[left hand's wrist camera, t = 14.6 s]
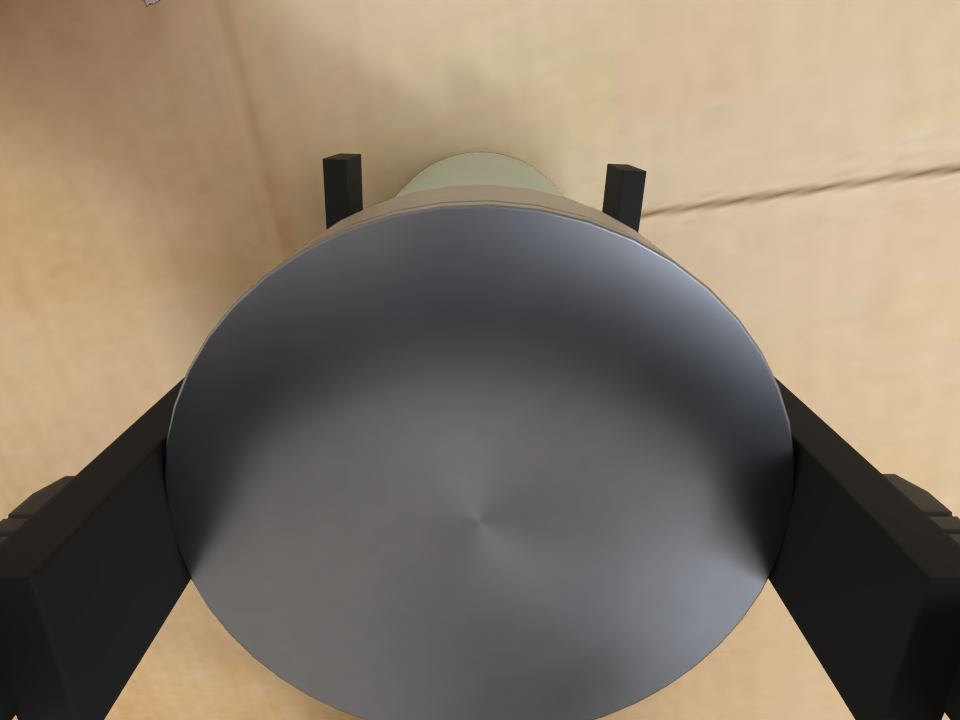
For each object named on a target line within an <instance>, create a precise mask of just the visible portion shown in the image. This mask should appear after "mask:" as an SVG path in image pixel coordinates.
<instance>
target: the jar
mask: <svg viewBox="0 0 960 720" xmlns="http://www.w3.org/2000/svg"><path fill="white" fill-rule="evenodd" d="M465 185H498V186H507V187H517V188H527V189H532V190H536V191H540V192H545V193H549V194H553V195H557V196H561V197H565V196H564V195H563V194H562V193H561V192H560V191H559V190H558V189H557V188H556V187H555V186H554V185H553V184H552V183H551V182H550V181H549V180H548V179H547V178H546V177H545V176H544V175H542V174H541V173H540V172H538V171H537V170H536V169H535V168H533V167H531V166H529V165H528V164H526V163H524V162H522V161H520V160H517V159H515V158H512V157H509V156H505V155H501V154H497V153H488V152H470V153H464V154H458V155H454V156H451V157H448V158H445V159H442V160H440V161H438V162H436V163H434V164H432V165H430V166H429V167H427V168H426V169H424V170H423V171H421V172H420V173H419V174H418V175H417V176H415V177H414V178H413V179H412V180H411V181H410V182H409V183H408V184H407V185H406V186H405V187H404V188H403V189H402V190H401V191H400V192H399V193H398V194H397V195H396V196H395V197H394V198H396V197H399V196H402V195H406V194H409V193H412V192H418V191H424V190H430V189H436V188H441V187H447V186H465ZM565 198H566V197H565Z"/></svg>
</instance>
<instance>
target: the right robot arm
mask: <svg viewBox="0 0 960 720" xmlns="http://www.w3.org/2000/svg"><path fill="white" fill-rule="evenodd" d="M323 172H324V190H325V208H326V226H327V229H329V228H330V227H332V226H333V225H335V224H336V223H338V222H339V221H341V220H343V219H345V218H347V217H349V216H351V215H353V214H355V213H357V212H360V211H362V210H363V203H362V173H361V154H337V155H334V156H331V157H327V158H324V159H323ZM645 178H646V171H644V170H641V169H638V168H636V167H633V166H630V165H624V164H608V165H607V174H606V183H605V192H604V202H603V211H602V212H603V213H605V214H607V215H609V216H610V217H612V218H614V219H616V220H617V221H619V222H621V223H623V224H625V225H626V226H628V227H630V228H632V229H633V230H635V231H636V232H638V231H639V223H640V216H641V208H642V201H643V193H644V185H645Z"/></svg>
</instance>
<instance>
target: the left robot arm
mask: <svg viewBox="0 0 960 720" xmlns="http://www.w3.org/2000/svg"><path fill="white" fill-rule="evenodd" d="M774 378H775V377H774ZM184 379H185V378H183V379H182V380H181V381H180V382H179V383H178V384H177V385H176V386H175V387H173V388H172V389H171V390H170V391H169V392H168V393H167V394H166V395H165V396H164V397H162V398H161V399H160V400H159V401H158V402H157V403H156V404H155V405H154V406H152V407H151V408H150V409H149V410H148V411H147V412H146V413H145V414H144V415H143V416H141V417H140V418H139V419H138V420H137V421H136V422H135V423H134V424H133V425H131V426H130V427H129V428H128V429H127V430H126V431H125V432H124V433H123V434H122V435H120V436H119V437H118V438H117V439H116V440H115V441H114V442H113V443H112V444H110V445H109V446H108V447H107V448H106V449H105V450H104V451H103V452H102V453H101V454H99V455H98V456H97V457H96V458H95V459H94V460H93V461H92V462H91V463H89V464H88V465H87V466H86V467H85V468H84V469H83V470H82V471H81V472H80V473H78V474H77V475H76V476H65V477H63V478H61V479H60V480H58V481H56V482H54V483H52V484H50V485H48V486H46V487H45V488H43V489H41V490H39V491H37V492H35V493H33V494H32V495H31V496H30V497H28V498H27V499H26V500H25V501H24V502H23V503H21V504H20V505H19V506H18V507H17V508H16V509H14V510H13V511H12V512H11V513H10V514H9V515H8V516H9V517H8V519H3V520H2V521H1V522H0V720H12V719H13V718H14V716H15V715H16V716H17V718H18V720H104V719H105V717H106V716H107V714H108V713H109V711H110V709H111V708H112V706H113V704H114V703H115V701H116V700H117V698H118V696H119V695H120V693H121V691H122V690H123V688H124V687H125V685H126V683H127V682H128V680H129V678H130V677H131V675H132V674H133V672H134V670H135V669H136V667H137V665H138V664H139V662H140V661H141V659H142V657H143V656H144V654H145V653H146V651H147V649H148V648H149V646H150V644H151V643H152V641H153V640H154V638H155V636H156V635H157V633H158V631H159V630H160V628H161V627H162V625H163V623H164V622H165V620H166V618H167V617H168V615H169V614H170V612H171V610H172V609H173V607H174V605H175V604H176V602H177V601H178V599H179V597H180V596H181V594H182V592H183V591H184V589H185V588H186V586H187V584H188V583H189V581H190V579H191V578H190V575H189V573H188V571H187V568H186V566H185V564H184V561H183V559H182V557H181V554H180V552H179V550H178V547H177V544H176V539H175V535H174V531H173V526H172V522H171V518H170V514H169V508H168V503H167V496H166V487H165V461H166V441H167V437H168V432H169V427H170V423H171V418H172V413H173V408H174V405H175V402H176V399H177V397H178V394H179V392H180V389H181V386H182V384H183V381H184ZM775 380H776V382H777V384H778V386H779V389H780V392H781V396H782V399H783V402H784V406H785V409H786V412H787V416H788V419H789V422H790V429H791V436H792V444H793V451H794V459H795V464H794V496H793V502H792V506H791V511H790V516H789V520H788V525H787V530H786V534H785V538H784V541H783V544H782V547H781V550H780V553H779V556H778V559H777V561H776V564H775V565H774V567H773V569H772V571H771V573H770V575H769V577H768V578H769V580H770V582H771V583H772V585H773V587H774V588H775V590H776V591H777V593H778V595H779V596H780V598H781V600H782V601H783V603H784V604H785V606H786V608H787V609H788V611H789V613H790V614H791V616H792V617H793V619H794V621H795V622H796V624H797V626H798V627H799V629H800V630H801V632H802V634H803V635H804V637H805V639H806V640H807V642H808V643H809V645H810V647H811V648H812V650H813V651H814V653H815V655H816V656H817V658H818V660H819V661H820V663H821V664H822V666H823V668H824V669H825V671H826V673H827V674H828V676H829V677H830V679H831V681H832V682H833V684H834V686H835V687H836V689H837V690H838V692H839V694H840V695H841V697H842V699H843V700H844V702H845V703H846V705H847V707H848V708H849V710H850V712H851V713H852V715H853V716H854V718H855V720H942V717H943V715H944V712H945V713H946V715H947V716H948V717H949V718H950V720H960V519H959V518H958V517H953V516H952V512H951V511H950V510H949V509H947V508H946V507H945V506H944V505H943V504H941V503H940V502H939V501H938V500H937V499H936V498H934V497H933V496H932V495H931V494H930V493H929V492H927V491H925V490H923V489H922V488H920V487H918V486H916V485H914V484H912V483H910V482H908V481H907V480H905V479H903V478H901V477H899V476H897V475H895V474H881V473H880V472H879V471H878V470H877V469H876V468H875V467H873V466H872V465H871V464H870V463H869V462H868V461H867V460H866V459H865V458H863V457H862V456H861V455H860V454H859V453H858V452H857V451H856V450H855V449H854V448H852V447H851V446H850V445H849V444H848V443H847V442H846V441H845V440H844V439H842V438H841V437H840V436H839V435H838V434H837V433H836V432H835V431H834V430H833V429H831V428H830V427H829V426H828V425H827V424H826V423H825V422H824V421H823V420H822V419H820V418H819V417H818V416H817V415H816V414H815V413H814V412H813V411H812V410H810V409H809V408H808V407H807V406H806V405H805V404H804V403H803V402H802V401H801V400H799V399H798V398H797V397H796V396H795V395H794V394H793V393H792V392H791V391H789V390H788V389H787V388H786V387H785V386H784V385H783V384H782V383H781V382H780V381H778V380H777V379H776V378H775Z"/></svg>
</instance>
